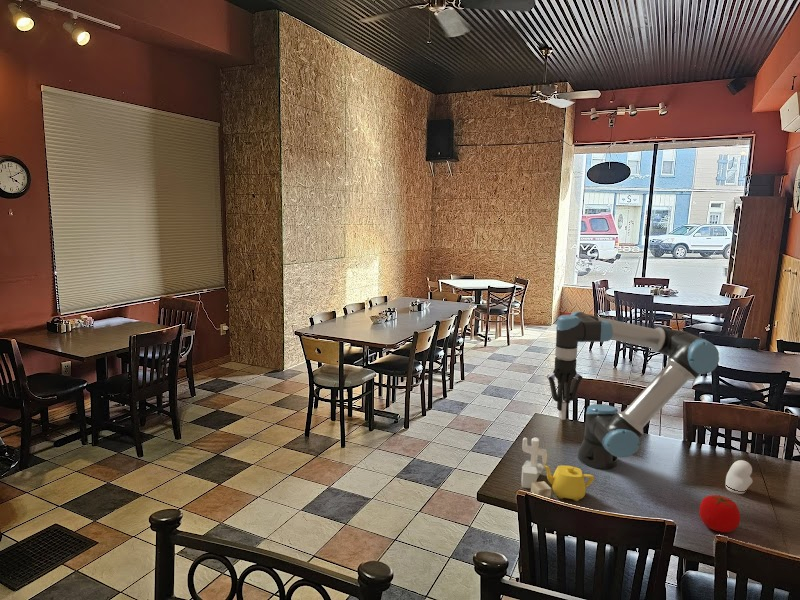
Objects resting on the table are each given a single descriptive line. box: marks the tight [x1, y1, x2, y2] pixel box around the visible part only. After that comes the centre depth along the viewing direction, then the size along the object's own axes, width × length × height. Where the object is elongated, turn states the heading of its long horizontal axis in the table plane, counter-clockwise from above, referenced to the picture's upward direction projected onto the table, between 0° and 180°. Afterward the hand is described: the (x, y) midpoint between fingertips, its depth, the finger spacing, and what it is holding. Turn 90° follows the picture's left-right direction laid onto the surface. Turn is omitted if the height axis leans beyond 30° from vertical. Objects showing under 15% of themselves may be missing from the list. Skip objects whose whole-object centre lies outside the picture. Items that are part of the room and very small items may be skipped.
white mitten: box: [725, 459, 753, 495], centre depth 194 cm, size 7×8×12 cm
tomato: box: [699, 494, 741, 534], centre depth 171 cm, size 11×12×10 cm
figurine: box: [521, 436, 548, 480], centre depth 201 cm, size 7×9×15 cm
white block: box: [520, 465, 538, 489], centre depth 195 cm, size 5×5×6 cm
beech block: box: [530, 480, 552, 498], centre depth 186 cm, size 5×5×5 cm
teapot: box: [543, 464, 595, 502], centre depth 189 cm, size 18×11×11 cm, turn 75°
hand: (562, 418), depth 197 cm, fingers closed
